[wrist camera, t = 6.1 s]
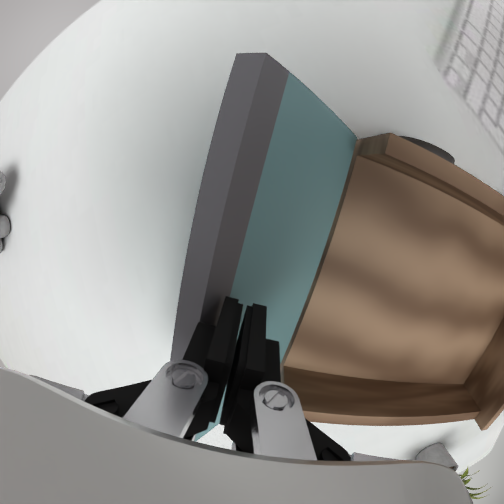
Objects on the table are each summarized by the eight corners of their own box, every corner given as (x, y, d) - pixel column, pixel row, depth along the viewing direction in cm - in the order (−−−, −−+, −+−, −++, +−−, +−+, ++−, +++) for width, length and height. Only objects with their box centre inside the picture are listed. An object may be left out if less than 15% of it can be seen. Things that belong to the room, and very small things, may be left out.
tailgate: (341, 133, 18) (236, 53, 8) (357, 137, 17) (266, 52, 7) (264, 367, 24) (162, 442, 14) (275, 374, 23) (176, 455, 13)
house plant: (480, 410, 28) (518, 477, 13) (456, 452, 32) (480, 511, 17) (408, 440, 30) (437, 524, 14) (392, 476, 34) (408, 544, 18)
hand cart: (354, 127, 19) (411, 106, 10) (528, 222, 20) (585, 246, 11) (275, 367, 26) (275, 445, 17) (450, 386, 26) (480, 436, 17)
